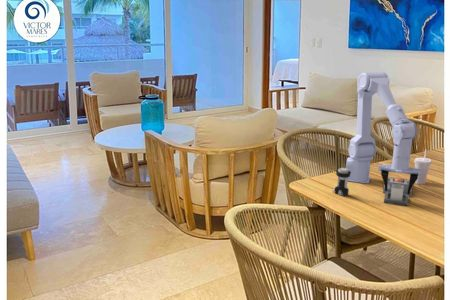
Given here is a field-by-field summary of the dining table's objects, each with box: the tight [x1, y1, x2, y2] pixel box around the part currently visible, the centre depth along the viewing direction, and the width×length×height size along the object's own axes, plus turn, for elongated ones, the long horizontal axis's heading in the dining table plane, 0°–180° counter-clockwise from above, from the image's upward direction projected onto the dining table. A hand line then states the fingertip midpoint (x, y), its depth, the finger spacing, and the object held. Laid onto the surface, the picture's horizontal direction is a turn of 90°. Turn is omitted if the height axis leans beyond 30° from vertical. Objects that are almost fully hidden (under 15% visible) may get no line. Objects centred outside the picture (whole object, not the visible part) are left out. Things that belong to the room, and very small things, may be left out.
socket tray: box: [383, 192, 409, 207], centre depth 172 cm, size 8×8×1 cm
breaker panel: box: [382, 176, 413, 198], centre depth 183 cm, size 10×12×4 cm
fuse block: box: [390, 184, 404, 201], centre depth 171 cm, size 4×4×6 cm
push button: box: [331, 167, 351, 197], centre depth 177 cm, size 7×5×10 cm
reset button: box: [394, 177, 404, 183], centre depth 180 cm, size 3×3×3 cm
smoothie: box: [413, 148, 432, 185], centre depth 189 cm, size 6×6×14 cm
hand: (397, 191), depth 172 cm, fingers open, 7 cm apart
